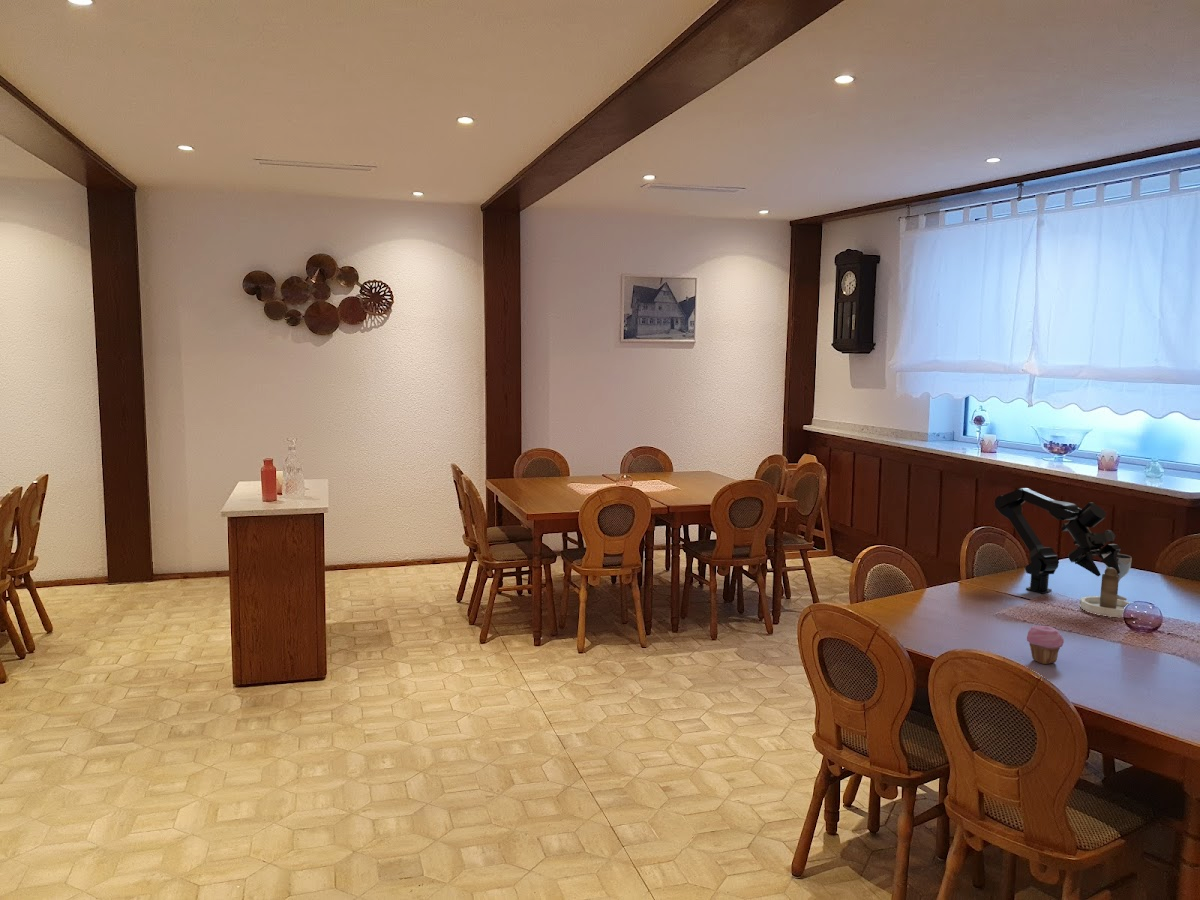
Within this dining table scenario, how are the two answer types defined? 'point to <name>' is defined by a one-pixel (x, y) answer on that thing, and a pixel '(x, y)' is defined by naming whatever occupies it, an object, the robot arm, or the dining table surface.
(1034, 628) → the cupcake
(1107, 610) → the dish
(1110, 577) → the pepper mill
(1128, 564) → the wine glass
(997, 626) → the dining table surface
